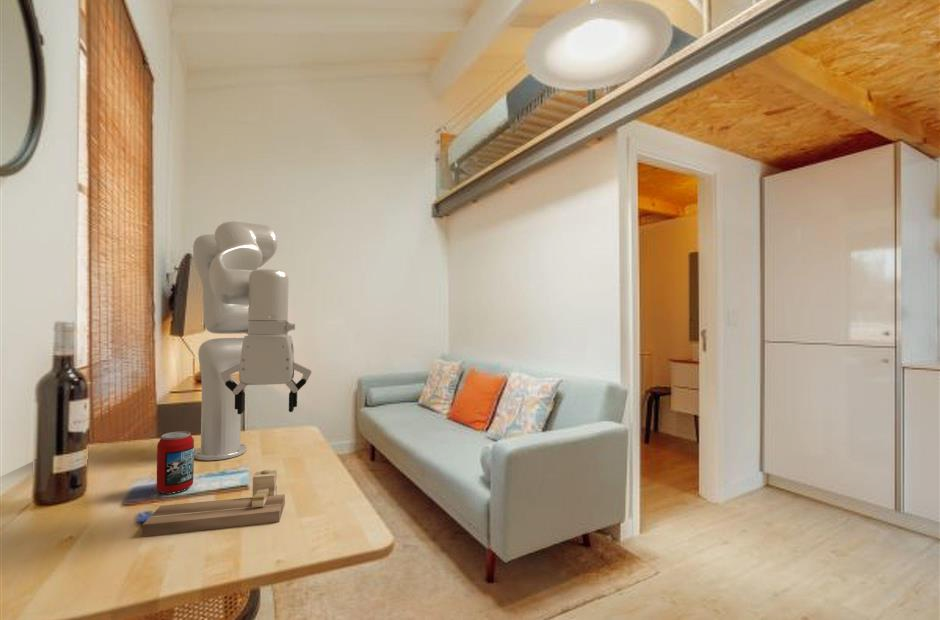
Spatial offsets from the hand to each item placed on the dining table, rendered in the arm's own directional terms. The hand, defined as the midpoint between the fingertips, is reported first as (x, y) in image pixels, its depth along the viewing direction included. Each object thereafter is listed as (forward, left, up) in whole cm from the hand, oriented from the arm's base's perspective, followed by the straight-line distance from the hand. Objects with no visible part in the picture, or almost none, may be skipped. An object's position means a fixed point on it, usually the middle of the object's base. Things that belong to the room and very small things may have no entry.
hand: (266, 411), depth 93 cm
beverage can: (-11, -20, -19) cm, 29 cm away
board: (+7, -7, -18) cm, 21 cm away
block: (+4, 0, -18) cm, 19 cm away
